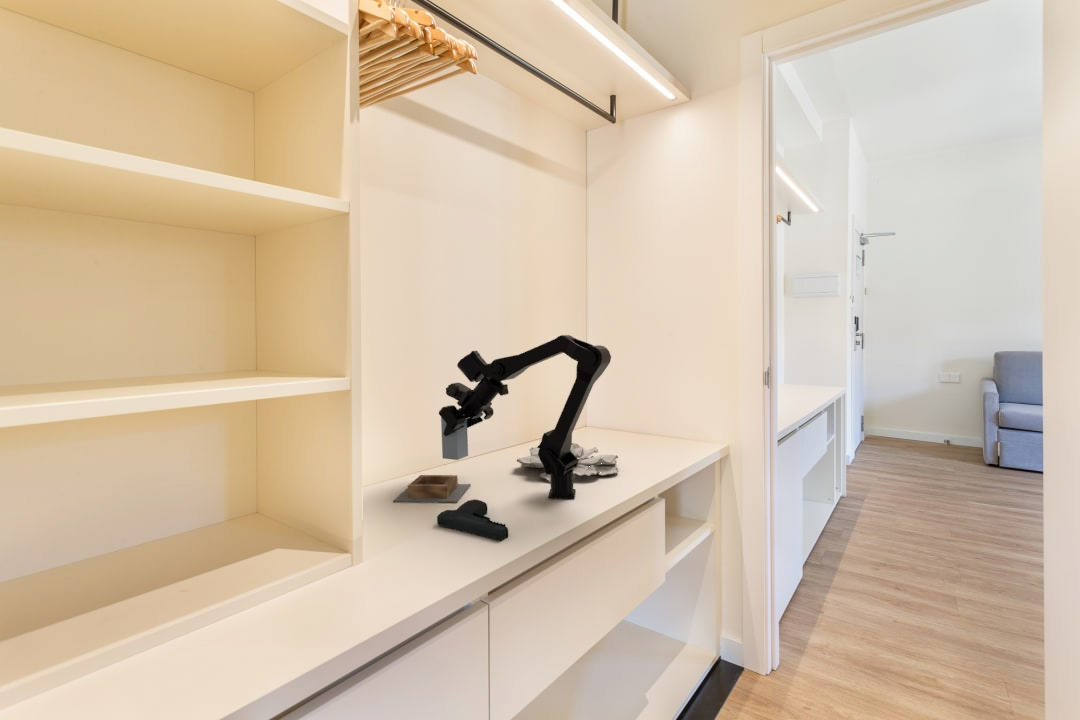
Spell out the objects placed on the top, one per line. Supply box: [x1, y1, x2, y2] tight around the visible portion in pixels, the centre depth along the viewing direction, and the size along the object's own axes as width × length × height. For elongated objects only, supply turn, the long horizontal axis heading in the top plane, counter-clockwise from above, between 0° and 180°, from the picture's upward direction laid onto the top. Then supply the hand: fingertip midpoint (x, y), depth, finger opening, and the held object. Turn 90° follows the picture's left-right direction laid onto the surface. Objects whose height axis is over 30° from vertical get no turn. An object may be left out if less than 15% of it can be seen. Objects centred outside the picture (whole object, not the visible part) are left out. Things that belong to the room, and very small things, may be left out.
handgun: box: [436, 498, 509, 542], centre depth 111 cm, size 3×18×12 cm
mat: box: [392, 483, 472, 504], centre depth 134 cm, size 16×14×1 cm
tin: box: [440, 416, 469, 461], centre depth 143 cm, size 5×5×12 cm
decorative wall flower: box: [516, 442, 619, 482], centre depth 155 cm, size 30×7×30 cm
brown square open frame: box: [407, 474, 459, 498], centre depth 133 cm, size 10×10×3 cm
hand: (450, 433), depth 144 cm, fingers closed on tin, 5 cm apart
